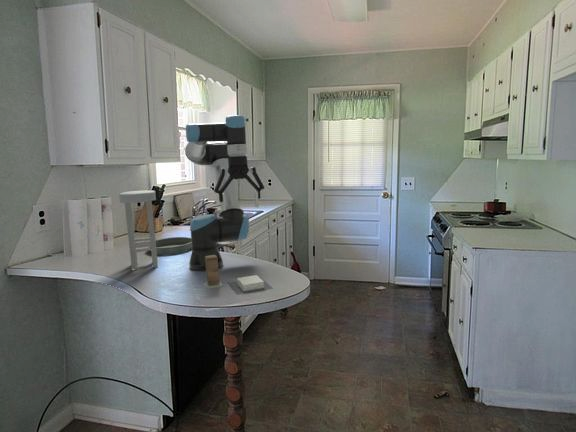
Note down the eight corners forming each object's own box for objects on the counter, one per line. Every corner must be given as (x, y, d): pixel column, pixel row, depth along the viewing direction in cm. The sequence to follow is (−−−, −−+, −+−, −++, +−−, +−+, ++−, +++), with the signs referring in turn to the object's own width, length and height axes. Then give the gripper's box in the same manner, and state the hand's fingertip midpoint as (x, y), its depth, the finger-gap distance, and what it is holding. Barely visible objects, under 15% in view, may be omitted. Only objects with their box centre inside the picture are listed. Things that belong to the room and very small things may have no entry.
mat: (227, 284, 164) (227, 282, 164) (260, 278, 169) (260, 277, 169) (236, 296, 150) (236, 294, 150) (273, 289, 155) (273, 288, 155)
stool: (128, 263, 201) (120, 191, 195) (161, 259, 205) (154, 189, 200) (126, 272, 186) (118, 195, 180) (162, 267, 191) (155, 192, 185)
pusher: (207, 283, 163) (204, 256, 161) (217, 281, 164) (215, 254, 162) (209, 286, 159) (207, 258, 157) (219, 284, 161) (217, 257, 159)
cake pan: (157, 245, 239) (156, 237, 238) (199, 243, 237) (198, 236, 237) (140, 256, 215) (139, 248, 214) (187, 255, 213) (186, 246, 213)
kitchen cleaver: (244, 244, 228) (229, 247, 221) (244, 246, 228) (229, 249, 221) (220, 239, 246) (205, 241, 239) (220, 240, 246) (206, 243, 239)
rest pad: (204, 285, 163) (204, 282, 163) (219, 282, 166) (219, 280, 165) (207, 290, 158) (207, 287, 158) (222, 287, 160) (222, 284, 160)
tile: (236, 278, 160) (243, 284, 152) (256, 275, 163) (263, 281, 155) (237, 284, 161) (243, 291, 153) (256, 281, 164) (264, 288, 155)
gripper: (207, 157, 156) (211, 212, 160) (270, 154, 165) (272, 206, 168) (204, 157, 163) (208, 210, 167) (264, 154, 172) (267, 204, 175)
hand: (240, 208), depth 168 cm, fingers open, 13 cm apart
